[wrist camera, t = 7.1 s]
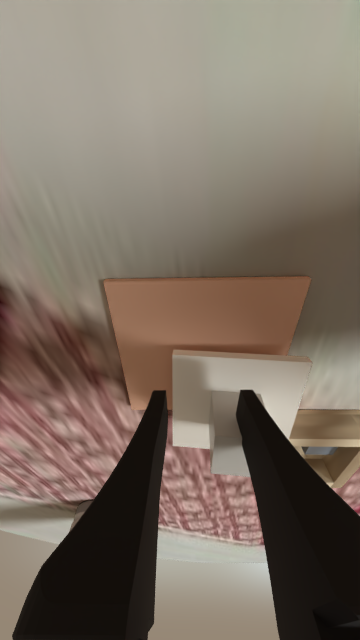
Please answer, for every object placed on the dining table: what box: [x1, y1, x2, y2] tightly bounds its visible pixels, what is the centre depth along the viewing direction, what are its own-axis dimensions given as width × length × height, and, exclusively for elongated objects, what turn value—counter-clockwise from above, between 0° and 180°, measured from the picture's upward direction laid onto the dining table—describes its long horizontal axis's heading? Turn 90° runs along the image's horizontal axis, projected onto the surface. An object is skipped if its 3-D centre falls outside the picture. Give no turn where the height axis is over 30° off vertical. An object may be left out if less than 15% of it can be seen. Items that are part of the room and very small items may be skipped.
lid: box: [172, 350, 313, 477], centre depth 13 cm, size 8×8×5 cm
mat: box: [103, 276, 311, 410], centre depth 15 cm, size 11×11×1 cm
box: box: [289, 410, 360, 488], centre depth 19 cm, size 8×8×2 cm
